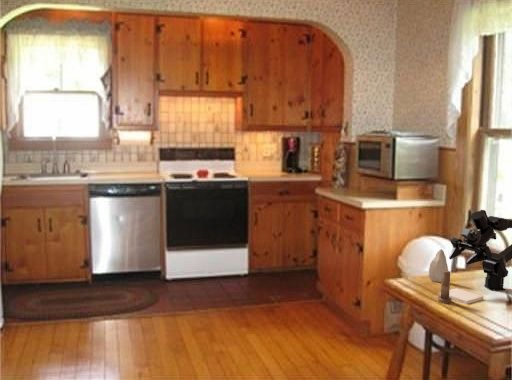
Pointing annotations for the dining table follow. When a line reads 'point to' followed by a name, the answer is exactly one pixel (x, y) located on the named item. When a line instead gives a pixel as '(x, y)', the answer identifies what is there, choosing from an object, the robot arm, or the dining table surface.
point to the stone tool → (438, 266)
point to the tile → (463, 296)
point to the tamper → (445, 288)
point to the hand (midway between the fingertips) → (458, 261)
